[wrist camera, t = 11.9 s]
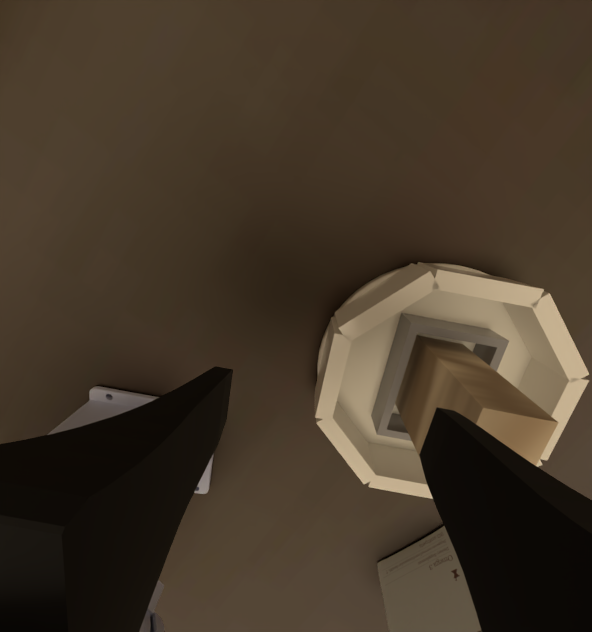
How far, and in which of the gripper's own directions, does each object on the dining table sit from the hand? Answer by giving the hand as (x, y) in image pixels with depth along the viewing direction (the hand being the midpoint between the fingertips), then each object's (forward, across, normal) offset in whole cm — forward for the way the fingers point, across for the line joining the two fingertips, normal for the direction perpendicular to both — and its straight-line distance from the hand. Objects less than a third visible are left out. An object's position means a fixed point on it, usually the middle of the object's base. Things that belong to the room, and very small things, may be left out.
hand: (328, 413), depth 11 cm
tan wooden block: (+9, -8, +2) cm, 12 cm away
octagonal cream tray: (+10, -8, +2) cm, 13 cm away
